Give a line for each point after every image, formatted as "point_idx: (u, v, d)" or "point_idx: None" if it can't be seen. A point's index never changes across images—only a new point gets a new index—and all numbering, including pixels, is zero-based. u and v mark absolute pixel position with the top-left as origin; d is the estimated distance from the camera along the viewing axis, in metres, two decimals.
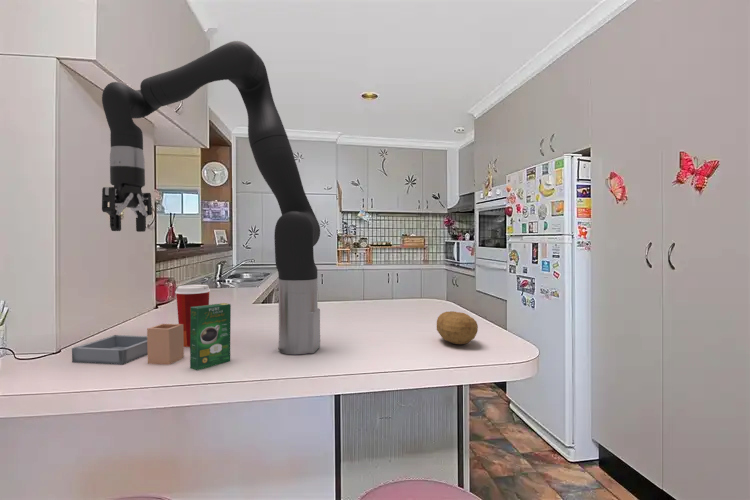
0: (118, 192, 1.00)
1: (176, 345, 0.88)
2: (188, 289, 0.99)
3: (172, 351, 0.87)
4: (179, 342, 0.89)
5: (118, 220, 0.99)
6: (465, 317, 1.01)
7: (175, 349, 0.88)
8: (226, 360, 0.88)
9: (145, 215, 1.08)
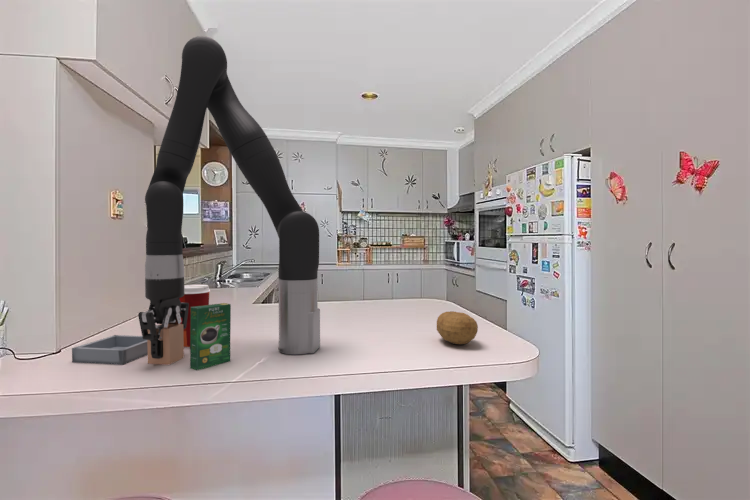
0: (156, 312, 0.84)
1: (176, 345, 0.88)
2: (188, 289, 0.99)
3: (172, 351, 0.87)
4: (179, 342, 0.89)
5: (160, 346, 0.85)
6: (465, 317, 1.01)
7: (175, 349, 0.88)
8: (226, 360, 0.88)
9: None
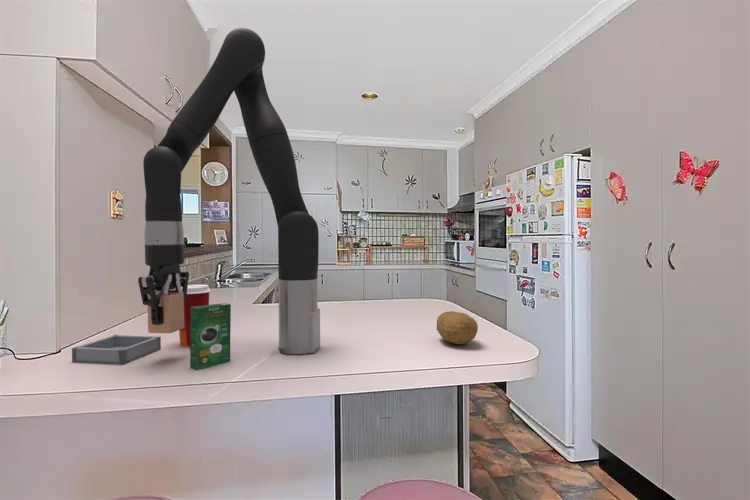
0: (156, 277, 0.84)
1: (176, 312, 0.88)
2: (188, 289, 0.99)
3: (172, 317, 0.87)
4: (179, 309, 0.89)
5: (160, 312, 0.85)
6: (465, 317, 1.01)
7: (176, 316, 0.88)
8: (226, 360, 0.88)
9: None
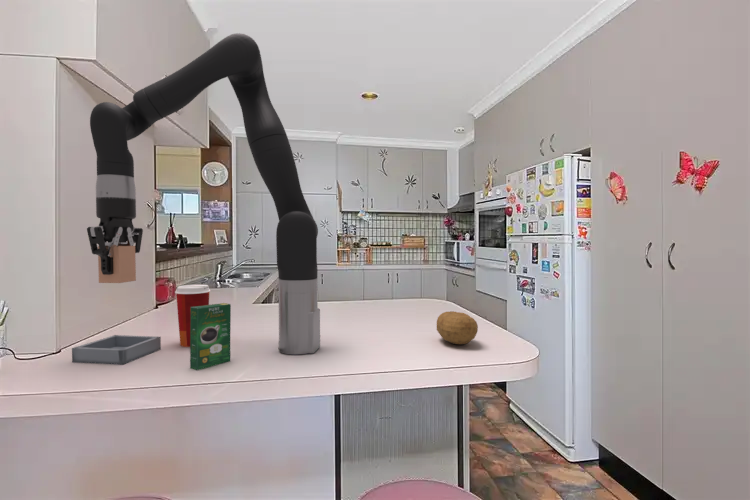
0: (105, 228, 0.88)
1: (127, 264, 0.91)
2: (188, 289, 0.99)
3: (122, 268, 0.90)
4: (130, 262, 0.93)
5: (110, 262, 0.89)
6: (465, 317, 1.01)
7: (126, 267, 0.91)
8: (226, 360, 0.88)
9: None
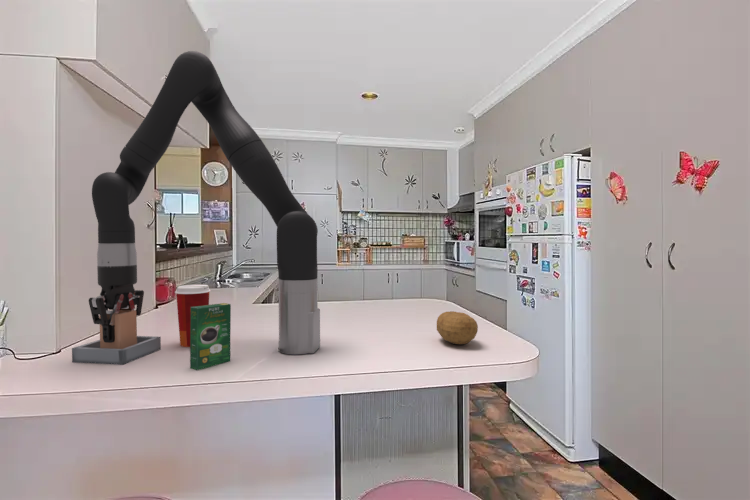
0: (107, 298, 0.88)
1: (128, 330, 0.92)
2: (188, 289, 0.99)
3: (124, 335, 0.91)
4: (131, 327, 0.93)
5: (111, 330, 0.89)
6: (465, 317, 1.01)
7: (127, 334, 0.92)
8: (226, 360, 0.88)
9: None
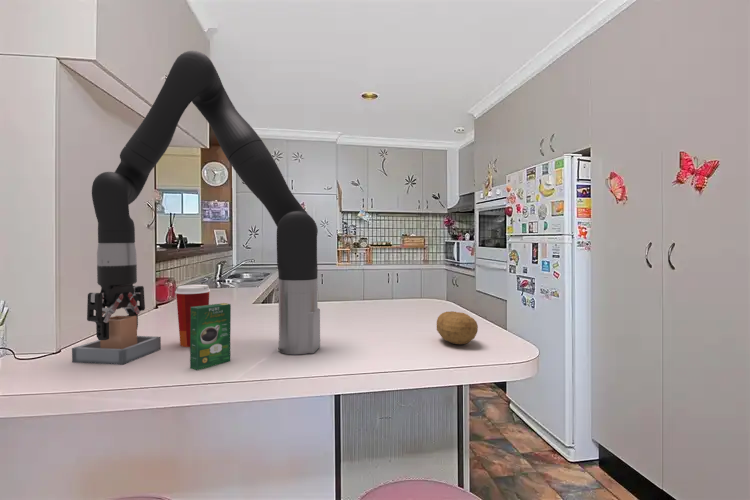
0: (106, 296, 0.88)
1: (128, 336, 0.92)
2: (188, 289, 0.99)
3: (124, 341, 0.91)
4: (132, 333, 0.93)
5: (105, 328, 0.88)
6: (465, 317, 1.01)
7: (128, 339, 0.92)
8: (226, 360, 0.88)
9: (137, 312, 0.97)
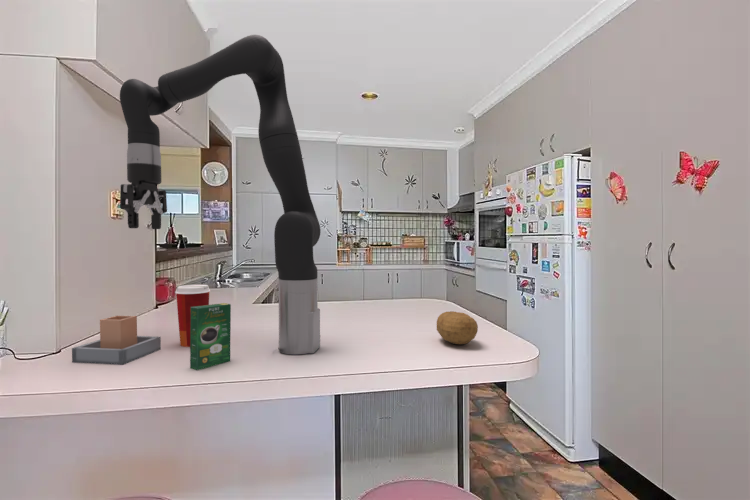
0: (136, 189, 0.99)
1: (128, 336, 0.92)
2: (188, 289, 0.99)
3: (124, 341, 0.91)
4: (132, 333, 0.93)
5: (135, 217, 0.99)
6: (465, 317, 1.01)
7: (128, 339, 0.92)
8: (226, 360, 0.88)
9: (161, 212, 1.08)
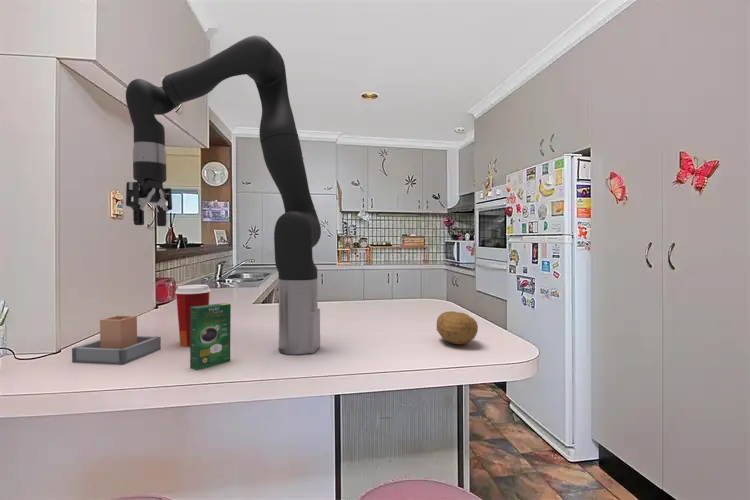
0: (141, 187, 1.01)
1: (128, 336, 0.92)
2: (188, 289, 0.99)
3: (124, 341, 0.91)
4: (132, 333, 0.93)
5: (141, 214, 1.01)
6: (465, 317, 1.01)
7: (128, 339, 0.92)
8: (226, 360, 0.88)
9: (166, 210, 1.10)
